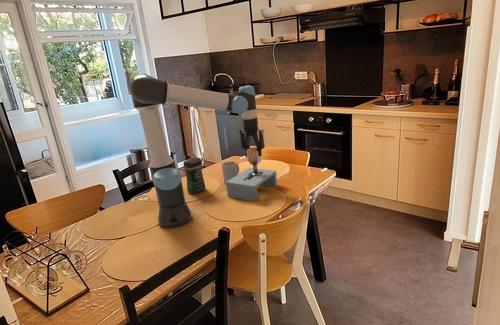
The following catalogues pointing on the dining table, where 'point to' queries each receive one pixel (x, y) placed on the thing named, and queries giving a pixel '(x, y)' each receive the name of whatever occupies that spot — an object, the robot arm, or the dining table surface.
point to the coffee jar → (194, 175)
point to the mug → (229, 170)
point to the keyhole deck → (250, 183)
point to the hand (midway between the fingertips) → (254, 161)
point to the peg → (253, 161)
